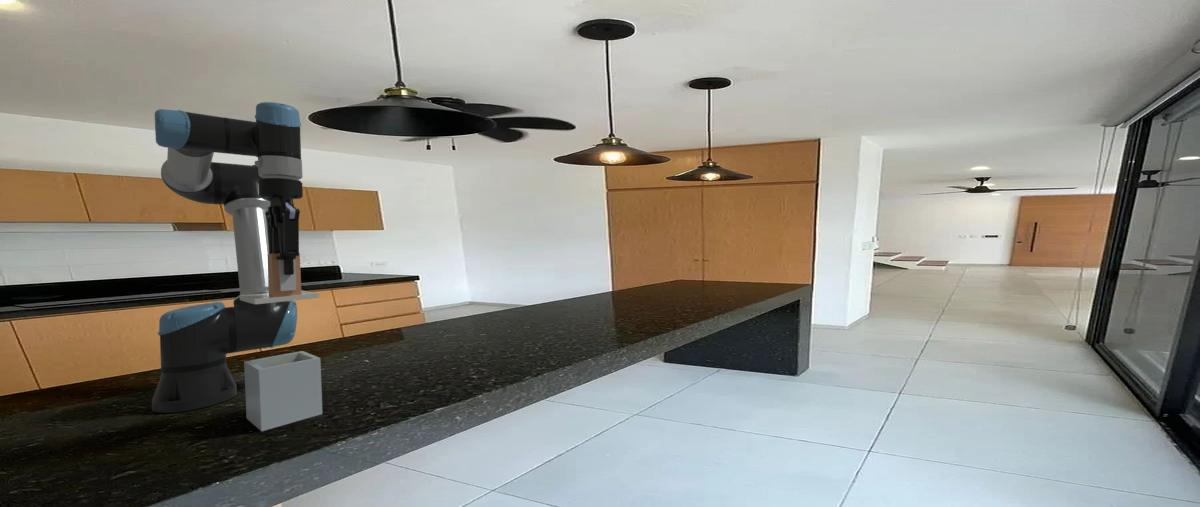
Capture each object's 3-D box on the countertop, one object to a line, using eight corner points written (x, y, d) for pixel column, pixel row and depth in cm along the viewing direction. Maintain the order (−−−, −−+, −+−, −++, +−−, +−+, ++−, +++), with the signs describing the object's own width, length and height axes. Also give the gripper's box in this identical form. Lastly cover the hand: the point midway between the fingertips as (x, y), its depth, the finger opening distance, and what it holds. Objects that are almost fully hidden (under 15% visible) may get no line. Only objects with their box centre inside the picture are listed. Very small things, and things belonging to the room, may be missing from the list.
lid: (239, 300, 95) (237, 254, 94) (300, 294, 103) (299, 252, 103) (255, 304, 87) (252, 254, 87) (319, 297, 96) (317, 252, 96)
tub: (246, 418, 95) (244, 361, 95) (304, 403, 104) (302, 350, 103) (261, 431, 88) (259, 370, 88) (322, 413, 97) (320, 358, 97)
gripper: (247, 181, 94) (252, 289, 95) (271, 173, 84) (275, 294, 85) (288, 184, 100) (292, 286, 101) (315, 177, 90) (319, 290, 91)
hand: (285, 289), depth 93 cm, fingers closed on lid, 3 cm apart
